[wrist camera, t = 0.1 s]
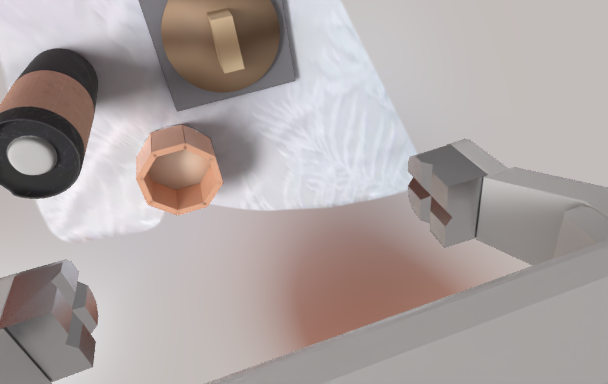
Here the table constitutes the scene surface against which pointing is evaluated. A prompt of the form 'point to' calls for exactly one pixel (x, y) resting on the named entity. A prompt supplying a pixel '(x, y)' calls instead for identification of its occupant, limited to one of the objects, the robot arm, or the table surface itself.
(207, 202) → the bowl
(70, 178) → the travel mug
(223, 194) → the table surface
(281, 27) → the mat
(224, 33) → the lid
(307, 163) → the table surface
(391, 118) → the table surface
